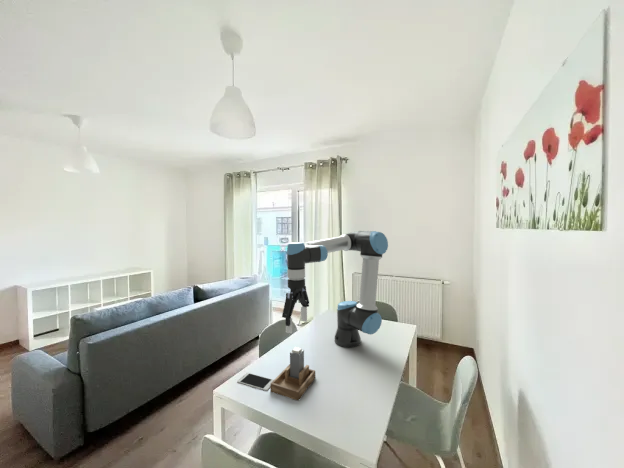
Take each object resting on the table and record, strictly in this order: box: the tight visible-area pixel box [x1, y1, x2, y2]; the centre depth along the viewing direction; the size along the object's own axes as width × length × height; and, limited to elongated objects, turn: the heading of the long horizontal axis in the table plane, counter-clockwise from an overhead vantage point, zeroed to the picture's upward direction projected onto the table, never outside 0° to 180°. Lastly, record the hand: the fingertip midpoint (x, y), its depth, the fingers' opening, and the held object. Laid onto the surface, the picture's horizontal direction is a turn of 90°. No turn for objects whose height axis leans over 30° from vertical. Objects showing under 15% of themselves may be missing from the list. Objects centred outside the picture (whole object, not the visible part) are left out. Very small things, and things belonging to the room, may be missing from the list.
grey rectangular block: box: [289, 346, 305, 379], centre depth 113 cm, size 4×4×13 cm
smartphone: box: [236, 372, 274, 392], centre depth 112 cm, size 7×16×1 cm, turn 67°
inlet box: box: [270, 363, 316, 401], centre depth 110 cm, size 16×13×6 cm
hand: (296, 326), depth 112 cm, fingers open, 13 cm apart
